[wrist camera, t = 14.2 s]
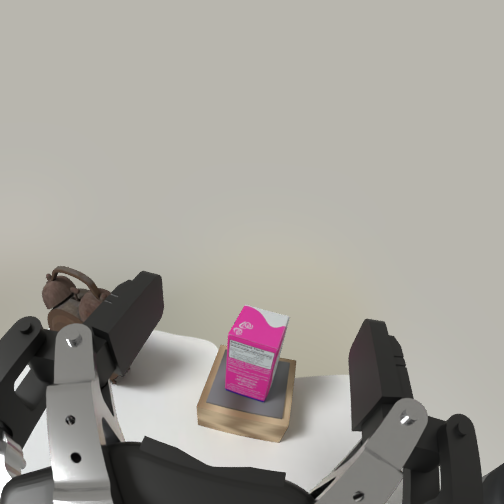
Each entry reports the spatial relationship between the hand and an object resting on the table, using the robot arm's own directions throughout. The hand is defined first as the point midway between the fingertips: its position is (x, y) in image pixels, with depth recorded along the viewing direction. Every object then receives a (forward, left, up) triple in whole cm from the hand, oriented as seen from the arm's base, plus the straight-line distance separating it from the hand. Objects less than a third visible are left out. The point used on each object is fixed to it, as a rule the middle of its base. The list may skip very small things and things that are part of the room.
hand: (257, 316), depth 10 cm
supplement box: (0, -15, -26) cm, 30 cm away
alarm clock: (+25, -13, -32) cm, 43 cm away
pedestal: (0, -15, -32) cm, 35 cm away
